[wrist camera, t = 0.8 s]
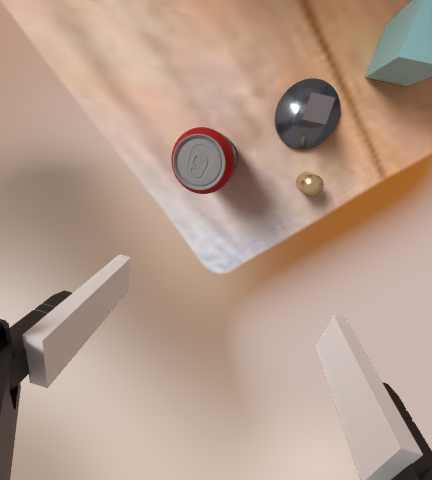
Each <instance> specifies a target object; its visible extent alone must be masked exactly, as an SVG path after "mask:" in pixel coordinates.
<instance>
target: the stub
mask: <svg viewBox="0 0 432 480" xmlns="http://www.w3.org/2000/svg"><path fill="white" fill-rule="evenodd" d="M296 185H297V187H298V188H299V189H300V190H301V191H303V192H304V193H305V194H307V195H311V196H312V195H316V194H318V193H319V192H320V191H321V190H322V188H323V180H322V179H321V178H320V177H319V176H317V175H314V174H312V173H309V172H305V173H302V174H300V175H299V176H298V178H297V180H296Z"/></svg>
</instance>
